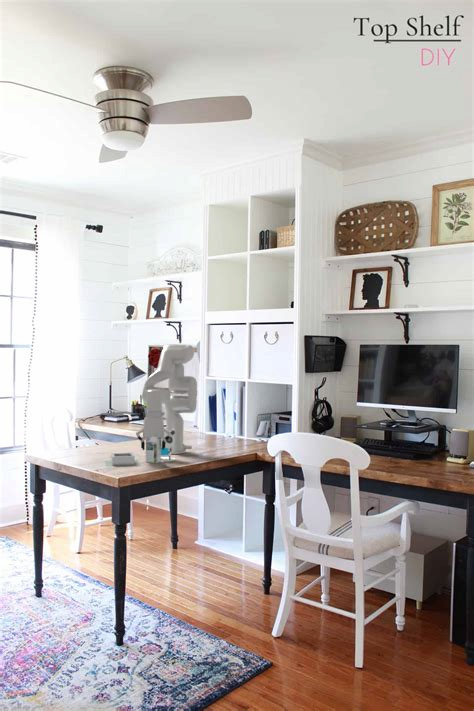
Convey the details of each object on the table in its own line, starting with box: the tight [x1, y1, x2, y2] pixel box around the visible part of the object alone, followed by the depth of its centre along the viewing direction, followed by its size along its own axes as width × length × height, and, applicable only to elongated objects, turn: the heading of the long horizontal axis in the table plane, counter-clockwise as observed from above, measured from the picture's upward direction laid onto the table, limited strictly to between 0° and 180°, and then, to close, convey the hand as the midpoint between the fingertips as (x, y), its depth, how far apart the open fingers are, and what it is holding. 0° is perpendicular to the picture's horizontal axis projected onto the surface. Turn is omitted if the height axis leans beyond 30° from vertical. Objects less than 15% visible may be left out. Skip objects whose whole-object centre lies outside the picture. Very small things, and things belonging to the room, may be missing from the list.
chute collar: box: [110, 452, 136, 465], centre depth 292 cm, size 10×10×4 cm
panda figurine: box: [161, 430, 176, 462], centre depth 312 cm, size 12×11×15 cm
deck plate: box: [104, 459, 141, 467], centre depth 292 cm, size 16×14×2 cm
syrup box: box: [145, 436, 162, 464], centre depth 297 cm, size 6×6×14 cm
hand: (153, 449), depth 296 cm, fingers open, 9 cm apart
